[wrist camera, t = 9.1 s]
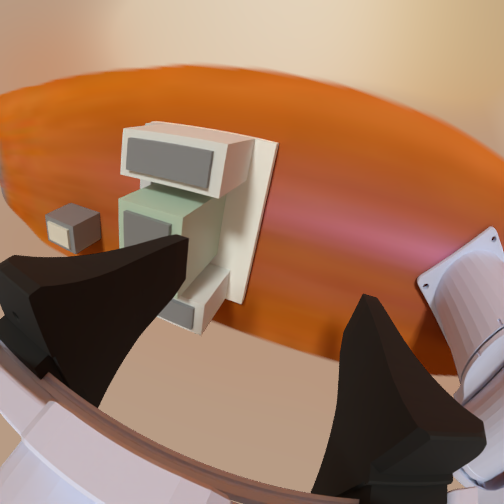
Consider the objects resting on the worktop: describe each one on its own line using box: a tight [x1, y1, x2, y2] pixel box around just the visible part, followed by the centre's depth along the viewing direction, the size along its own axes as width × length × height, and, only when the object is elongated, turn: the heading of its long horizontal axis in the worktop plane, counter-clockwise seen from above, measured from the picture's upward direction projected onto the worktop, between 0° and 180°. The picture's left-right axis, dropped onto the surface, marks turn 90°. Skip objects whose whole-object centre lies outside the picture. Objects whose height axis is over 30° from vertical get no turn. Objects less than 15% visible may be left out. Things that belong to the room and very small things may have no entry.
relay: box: [45, 203, 101, 254], centre depth 25 cm, size 5×3×4 cm, turn 79°
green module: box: [119, 183, 227, 299], centre depth 19 cm, size 4×6×7 cm
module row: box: [120, 121, 279, 335], centre depth 20 cm, size 10×14×6 cm
